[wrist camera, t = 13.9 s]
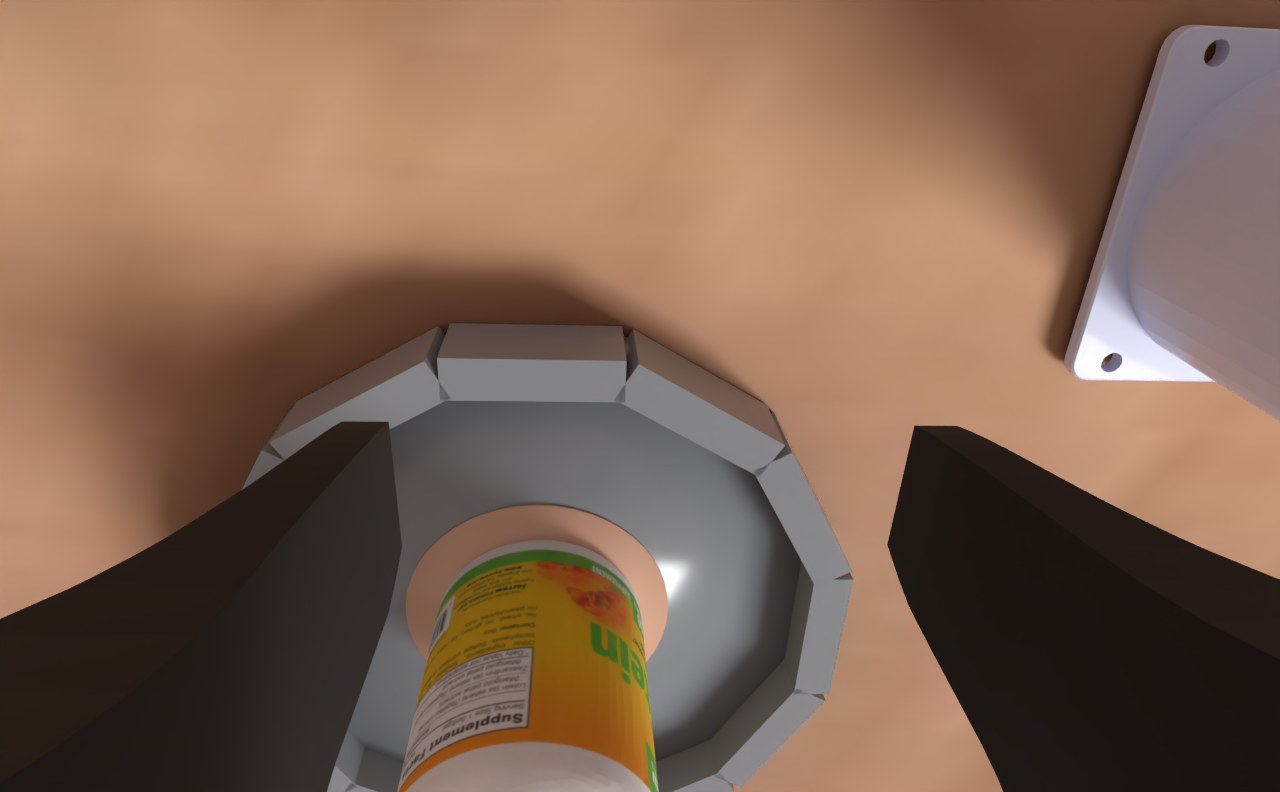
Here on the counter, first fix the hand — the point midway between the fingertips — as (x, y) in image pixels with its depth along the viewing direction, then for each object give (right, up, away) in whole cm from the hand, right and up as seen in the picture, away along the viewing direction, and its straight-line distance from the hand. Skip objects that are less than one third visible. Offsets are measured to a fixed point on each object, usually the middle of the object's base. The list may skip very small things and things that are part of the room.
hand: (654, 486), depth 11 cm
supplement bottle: (-3, -5, +11) cm, 12 cm away
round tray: (-3, -4, +11) cm, 12 cm away
